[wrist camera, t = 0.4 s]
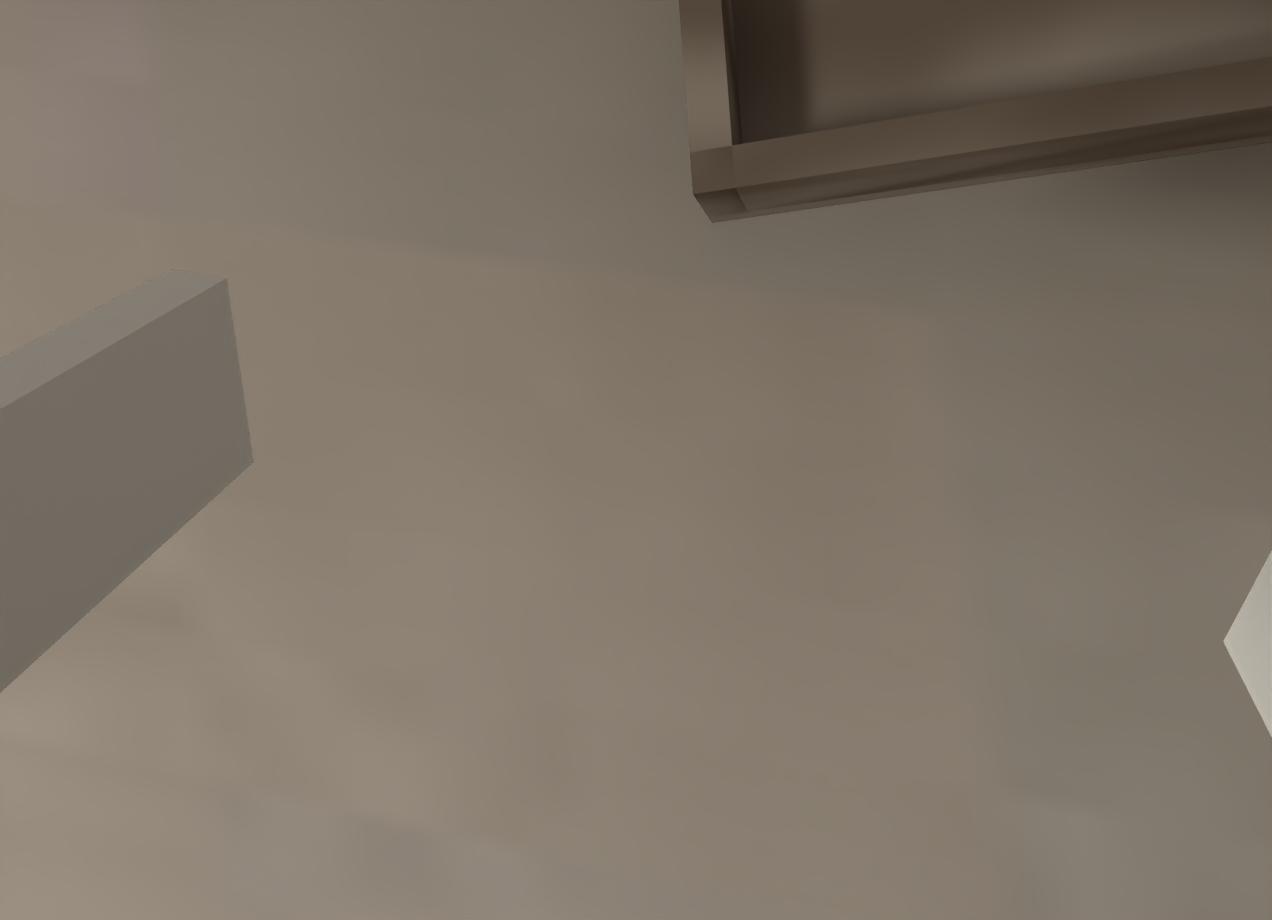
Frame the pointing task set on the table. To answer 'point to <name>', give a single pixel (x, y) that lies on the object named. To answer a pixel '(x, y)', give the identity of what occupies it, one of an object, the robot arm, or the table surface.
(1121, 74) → the slide box
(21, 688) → the table surface
